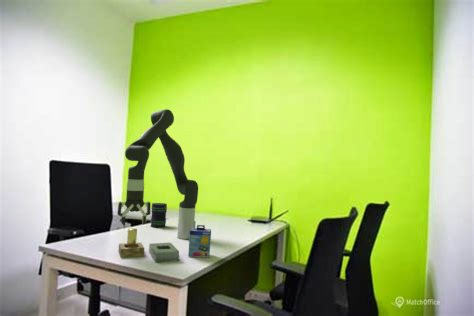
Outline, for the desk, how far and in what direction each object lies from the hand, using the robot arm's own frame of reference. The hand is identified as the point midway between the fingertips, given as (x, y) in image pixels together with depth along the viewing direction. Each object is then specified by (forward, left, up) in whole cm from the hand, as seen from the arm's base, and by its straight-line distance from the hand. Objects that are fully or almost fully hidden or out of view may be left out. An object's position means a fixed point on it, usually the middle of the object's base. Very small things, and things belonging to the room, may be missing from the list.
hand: (133, 224), depth 144 cm
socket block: (0, 0, -13) cm, 13 cm away
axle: (0, 0, -12) cm, 12 cm away
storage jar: (-24, -60, -13) cm, 66 cm away
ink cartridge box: (-29, +11, -13) cm, 33 cm away
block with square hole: (-13, +8, -13) cm, 20 cm away
